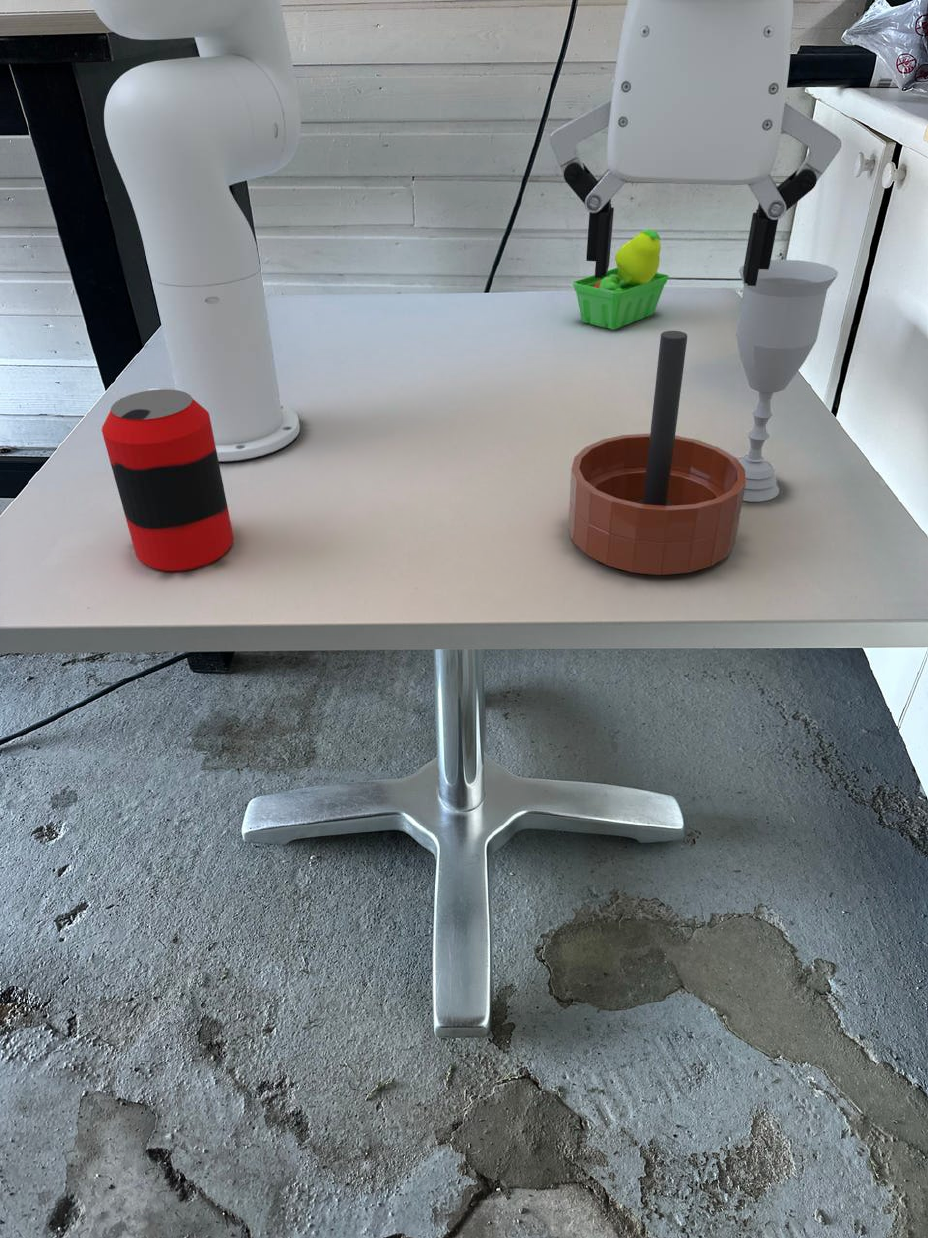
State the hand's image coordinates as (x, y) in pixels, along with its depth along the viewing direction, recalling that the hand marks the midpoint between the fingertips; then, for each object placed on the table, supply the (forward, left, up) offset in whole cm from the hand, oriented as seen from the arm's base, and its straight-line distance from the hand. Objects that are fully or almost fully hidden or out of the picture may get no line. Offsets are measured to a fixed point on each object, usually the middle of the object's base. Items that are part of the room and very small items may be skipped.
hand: (674, 276), depth 59 cm
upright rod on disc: (0, 0, -19) cm, 19 cm away
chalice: (+8, +10, -20) cm, 24 cm away
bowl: (0, 0, -20) cm, 20 cm away
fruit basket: (-6, +56, -20) cm, 60 cm away
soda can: (-36, -8, -20) cm, 42 cm away
